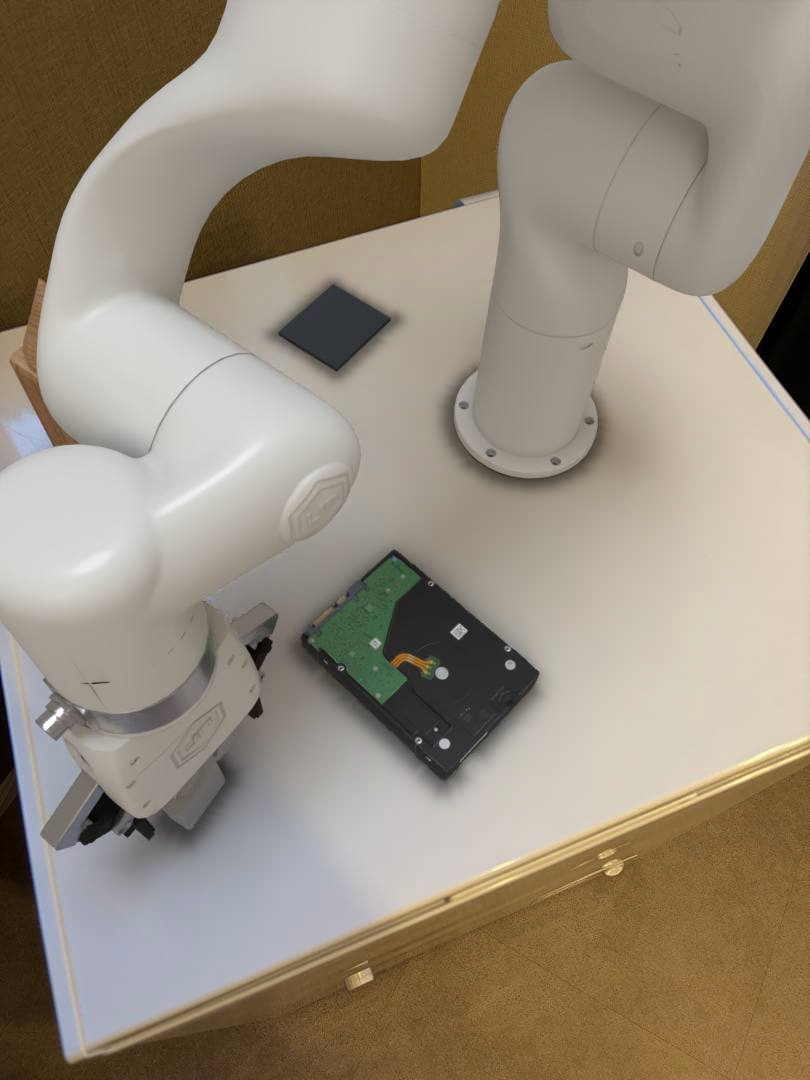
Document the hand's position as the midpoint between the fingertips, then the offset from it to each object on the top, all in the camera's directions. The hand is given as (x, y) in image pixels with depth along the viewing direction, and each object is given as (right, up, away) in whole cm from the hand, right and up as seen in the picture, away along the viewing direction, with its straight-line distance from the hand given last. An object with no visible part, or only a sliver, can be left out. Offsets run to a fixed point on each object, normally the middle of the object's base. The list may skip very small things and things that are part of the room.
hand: (190, 760), depth 57 cm
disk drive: (+15, +4, +10) cm, 18 cm away
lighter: (0, -3, +5) cm, 6 cm away
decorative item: (-11, +21, +19) cm, 30 cm away
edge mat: (+7, +34, +27) cm, 44 cm away
